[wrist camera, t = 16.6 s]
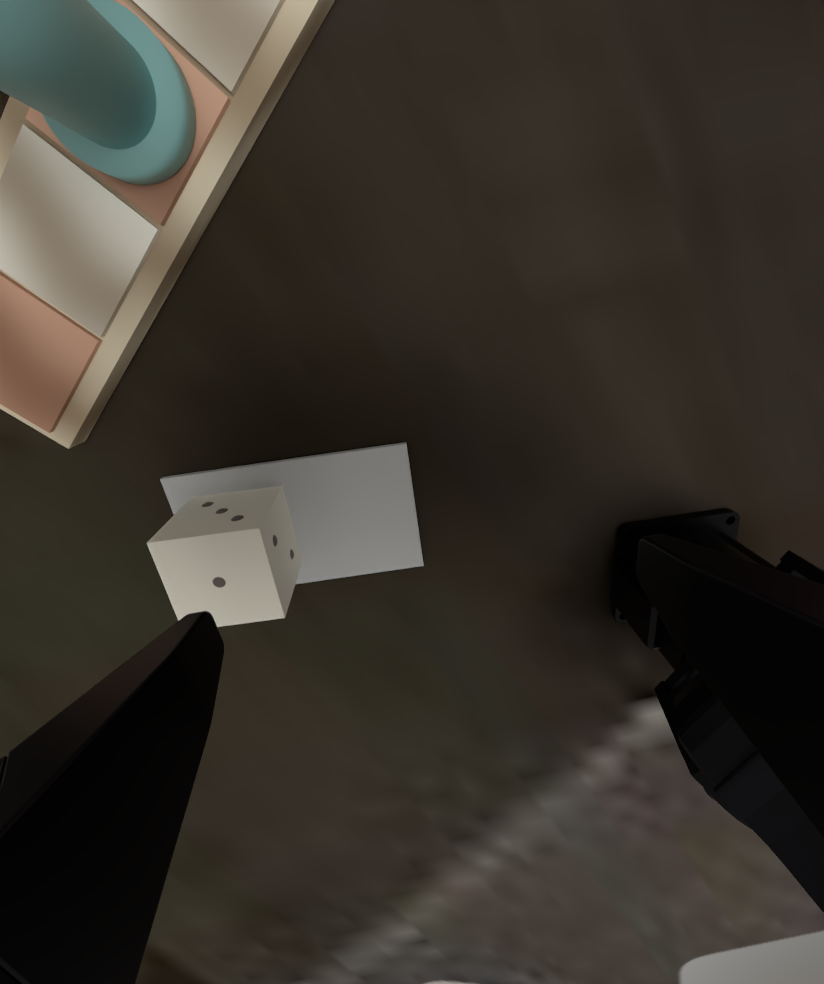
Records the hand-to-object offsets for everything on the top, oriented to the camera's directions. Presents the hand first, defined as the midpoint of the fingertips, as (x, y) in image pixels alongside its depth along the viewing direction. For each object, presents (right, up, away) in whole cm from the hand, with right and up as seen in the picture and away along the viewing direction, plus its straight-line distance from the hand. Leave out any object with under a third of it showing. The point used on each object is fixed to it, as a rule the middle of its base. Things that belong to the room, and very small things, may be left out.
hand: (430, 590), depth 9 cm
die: (-9, 0, +13) cm, 16 cm away
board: (-12, +14, +8) cm, 20 cm away
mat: (-6, 0, +14) cm, 15 cm away
